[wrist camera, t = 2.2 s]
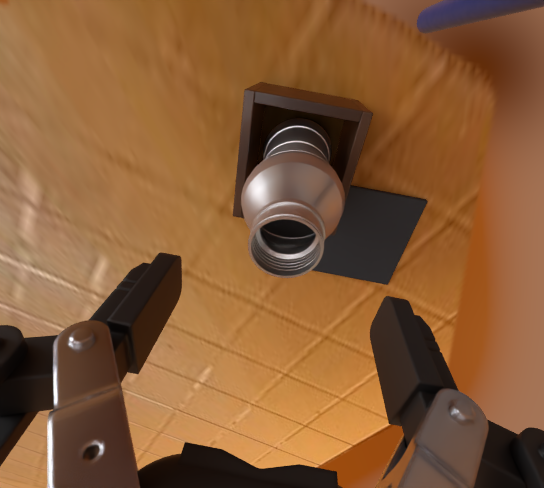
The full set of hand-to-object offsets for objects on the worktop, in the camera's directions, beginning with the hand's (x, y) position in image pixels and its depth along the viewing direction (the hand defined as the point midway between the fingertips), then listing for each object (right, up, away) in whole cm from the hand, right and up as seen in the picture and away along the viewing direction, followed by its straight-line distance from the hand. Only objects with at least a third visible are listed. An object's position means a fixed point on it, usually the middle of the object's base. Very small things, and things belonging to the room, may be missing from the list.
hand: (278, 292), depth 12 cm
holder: (+3, +12, +20) cm, 23 cm away
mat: (+10, +3, +24) cm, 26 cm away
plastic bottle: (+3, +12, +20) cm, 23 cm away
